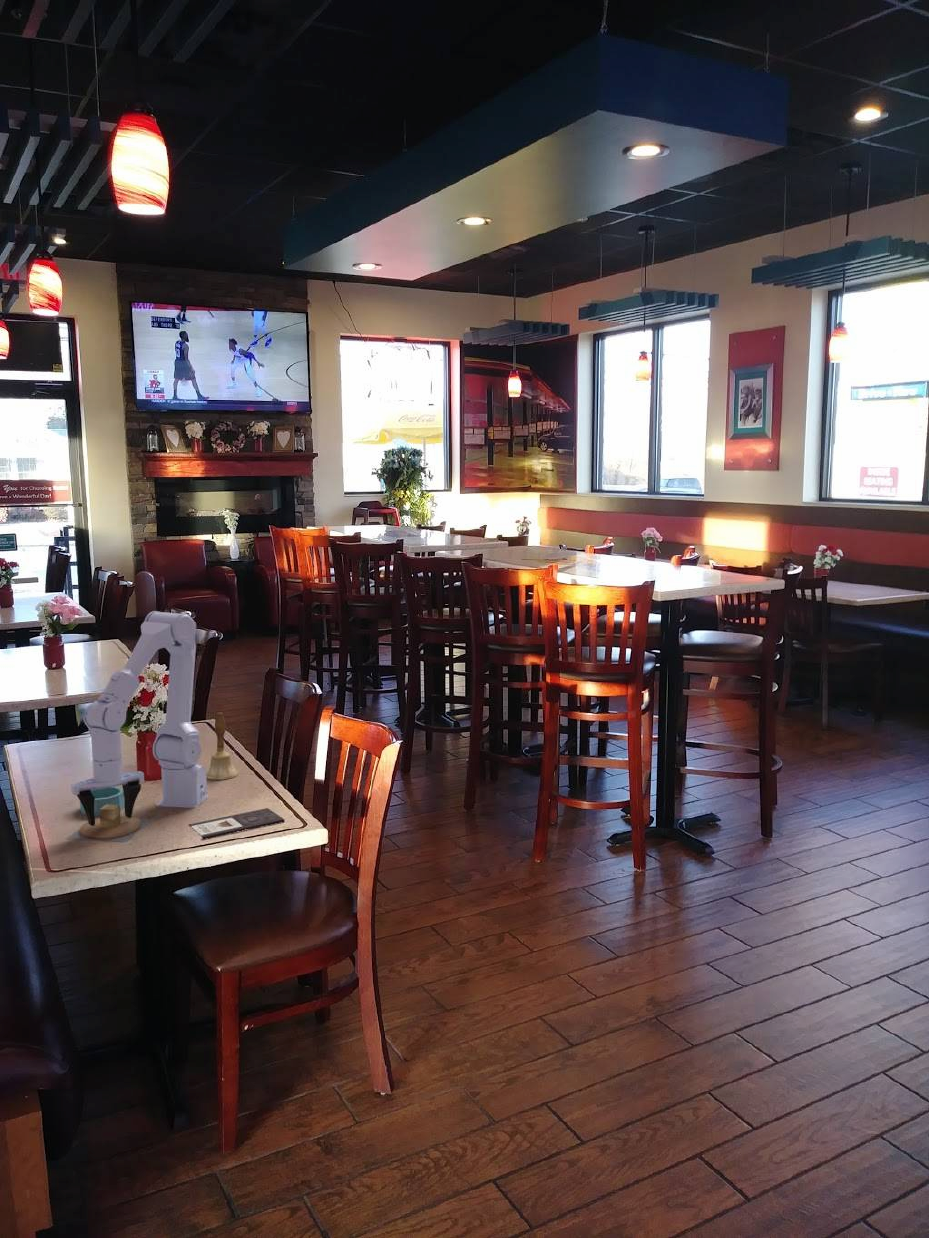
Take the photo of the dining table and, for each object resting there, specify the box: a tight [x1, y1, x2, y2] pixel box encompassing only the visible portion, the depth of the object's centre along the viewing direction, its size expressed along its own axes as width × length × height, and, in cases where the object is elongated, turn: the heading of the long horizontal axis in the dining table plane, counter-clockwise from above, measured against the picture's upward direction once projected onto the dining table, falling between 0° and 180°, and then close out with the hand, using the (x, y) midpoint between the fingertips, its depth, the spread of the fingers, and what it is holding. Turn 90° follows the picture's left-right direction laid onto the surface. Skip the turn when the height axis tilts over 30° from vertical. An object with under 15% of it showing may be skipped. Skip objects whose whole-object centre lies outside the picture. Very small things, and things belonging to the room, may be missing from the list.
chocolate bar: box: [188, 807, 285, 840], centre depth 210 cm, size 9×1×18 cm
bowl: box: [79, 786, 125, 817], centre depth 219 cm, size 9×9×4 cm
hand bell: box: [206, 711, 239, 781], centre depth 243 cm, size 8×8×16 cm
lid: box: [79, 804, 141, 839], centre depth 206 cm, size 12×12×5 cm
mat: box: [65, 816, 154, 843], centre depth 206 cm, size 13×13×1 cm
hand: (110, 820), depth 206 cm, fingers open, 7 cm apart
